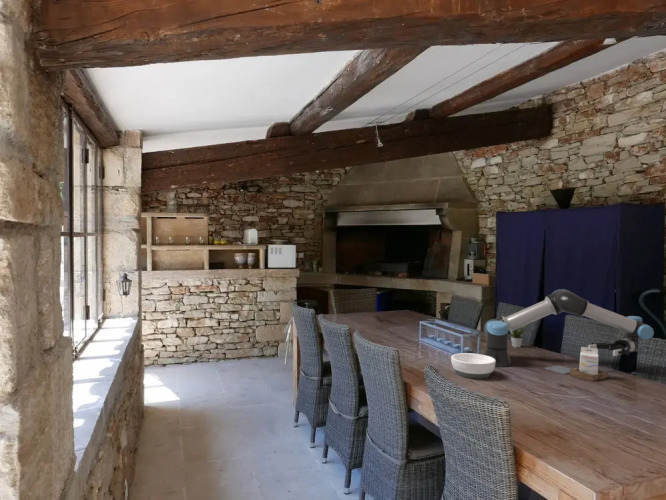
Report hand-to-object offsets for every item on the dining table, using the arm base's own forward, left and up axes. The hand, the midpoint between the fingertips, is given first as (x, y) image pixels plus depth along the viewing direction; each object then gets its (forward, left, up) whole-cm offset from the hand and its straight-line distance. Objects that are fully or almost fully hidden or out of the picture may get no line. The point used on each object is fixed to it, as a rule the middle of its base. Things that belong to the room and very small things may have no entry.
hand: (600, 350), depth 260 cm
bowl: (-61, +32, -13) cm, 70 cm away
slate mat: (-12, +15, -13) cm, 23 cm away
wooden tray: (-10, 0, -13) cm, 16 cm away
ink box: (-10, 0, -13) cm, 16 cm away
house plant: (+12, +66, -13) cm, 68 cm away
